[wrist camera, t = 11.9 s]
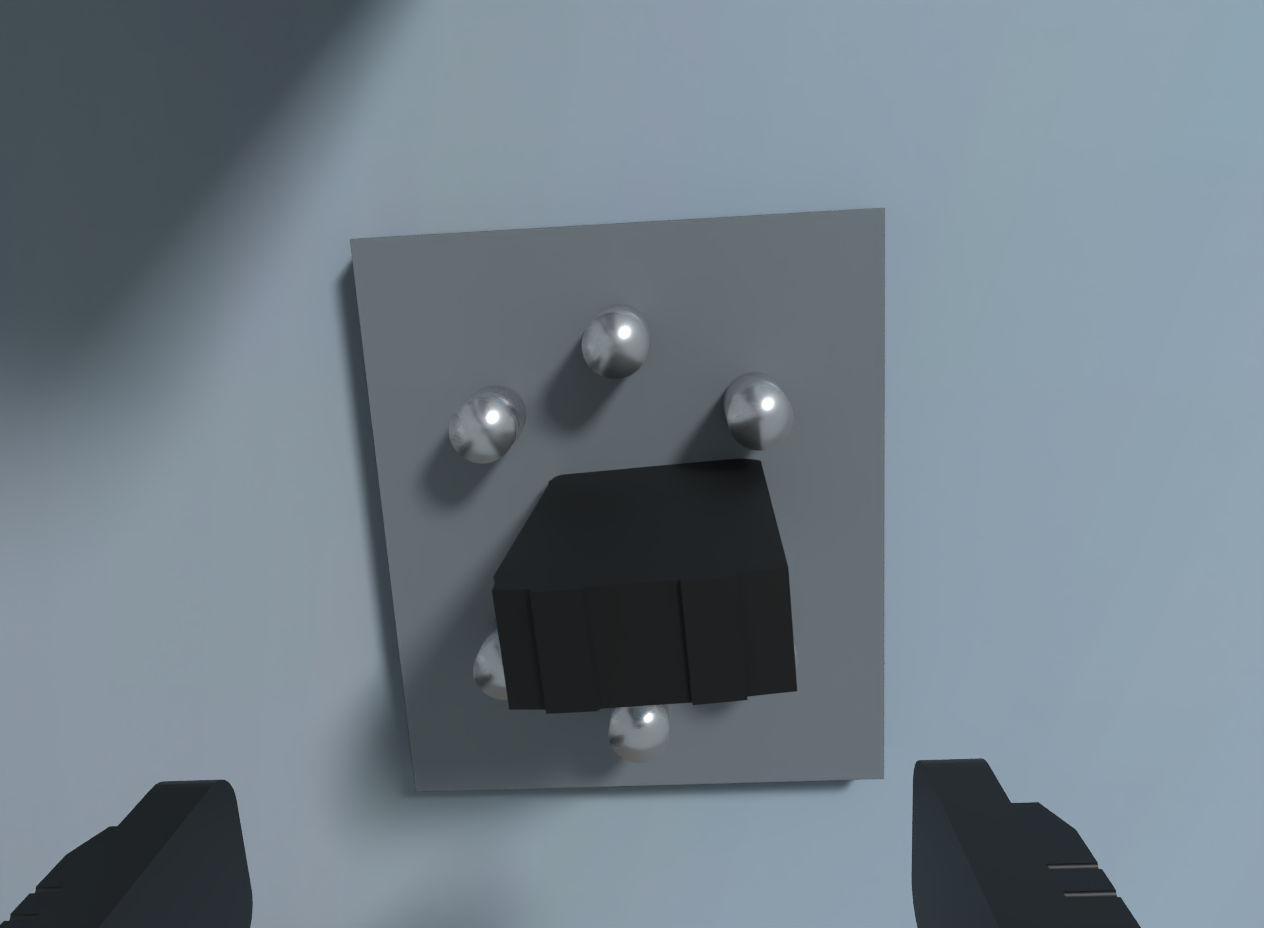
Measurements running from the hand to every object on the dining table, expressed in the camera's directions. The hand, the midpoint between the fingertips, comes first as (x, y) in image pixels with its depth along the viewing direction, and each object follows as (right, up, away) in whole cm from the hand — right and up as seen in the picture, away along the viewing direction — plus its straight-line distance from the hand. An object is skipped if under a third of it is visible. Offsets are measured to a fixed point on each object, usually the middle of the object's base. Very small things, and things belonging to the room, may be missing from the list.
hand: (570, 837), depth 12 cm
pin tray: (+1, +3, +13) cm, 14 cm away
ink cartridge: (+1, +3, +12) cm, 13 cm away
